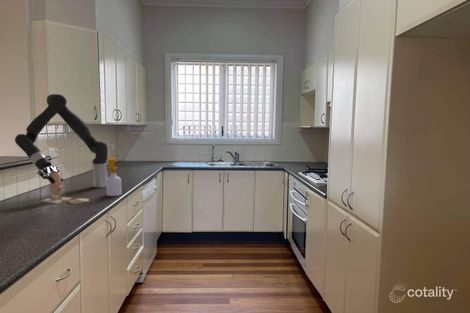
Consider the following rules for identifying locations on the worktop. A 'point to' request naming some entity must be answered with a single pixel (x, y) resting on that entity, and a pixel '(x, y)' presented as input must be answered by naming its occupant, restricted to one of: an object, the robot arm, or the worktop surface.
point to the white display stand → (56, 197)
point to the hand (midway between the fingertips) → (58, 181)
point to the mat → (78, 201)
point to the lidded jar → (56, 180)
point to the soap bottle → (113, 180)
